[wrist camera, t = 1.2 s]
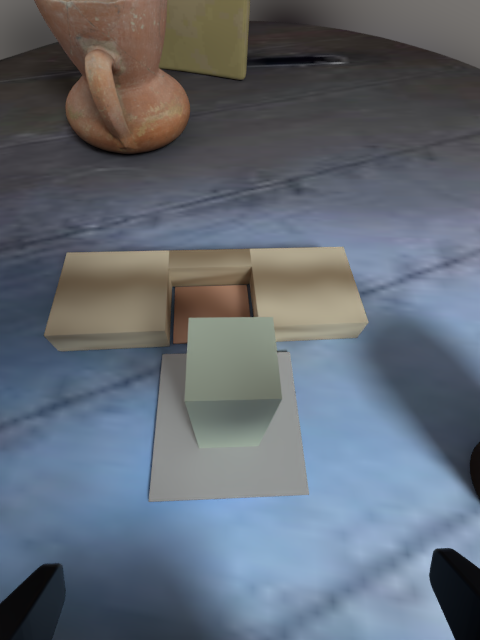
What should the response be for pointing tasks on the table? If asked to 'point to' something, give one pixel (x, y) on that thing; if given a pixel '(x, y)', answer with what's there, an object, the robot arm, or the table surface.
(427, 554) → the table surface
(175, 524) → the table surface
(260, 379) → the sage block
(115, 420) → the table surface
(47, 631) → the robot arm
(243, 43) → the cheese
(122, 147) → the ceramic jug
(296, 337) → the block
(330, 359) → the table surface
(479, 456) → the coffee mug
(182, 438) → the mat
